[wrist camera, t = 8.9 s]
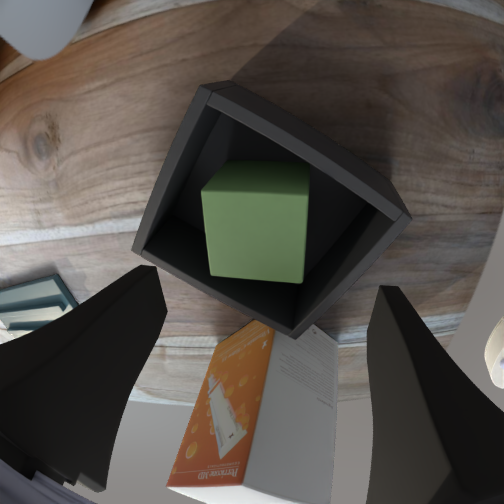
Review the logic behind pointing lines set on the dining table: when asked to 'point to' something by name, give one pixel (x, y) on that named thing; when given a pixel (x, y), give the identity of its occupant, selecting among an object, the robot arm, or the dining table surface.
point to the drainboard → (34, 304)
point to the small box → (263, 421)
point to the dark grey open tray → (319, 207)
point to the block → (257, 220)
